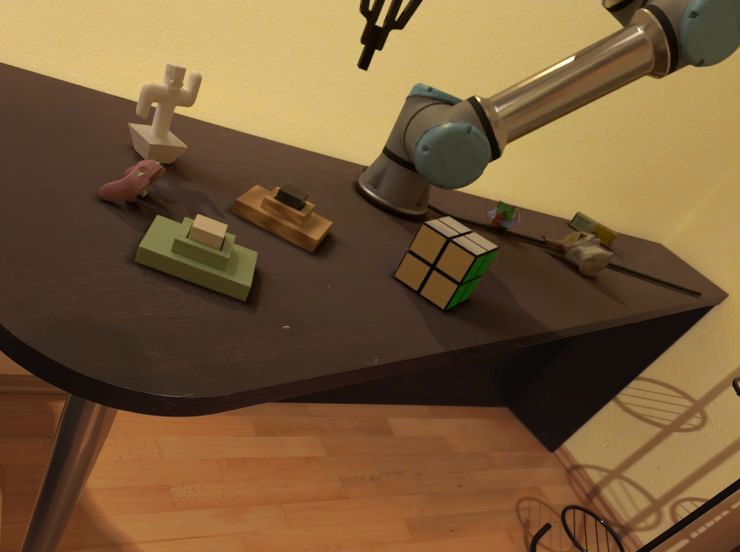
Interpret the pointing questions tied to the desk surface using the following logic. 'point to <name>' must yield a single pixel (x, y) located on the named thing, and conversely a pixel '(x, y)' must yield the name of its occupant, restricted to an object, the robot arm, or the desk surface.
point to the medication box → (593, 228)
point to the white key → (208, 232)
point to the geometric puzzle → (504, 216)
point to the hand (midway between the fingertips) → (361, 67)
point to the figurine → (163, 114)
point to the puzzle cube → (445, 262)
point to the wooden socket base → (282, 217)
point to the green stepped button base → (198, 258)
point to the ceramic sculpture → (581, 251)
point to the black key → (292, 196)
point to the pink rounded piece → (133, 182)
